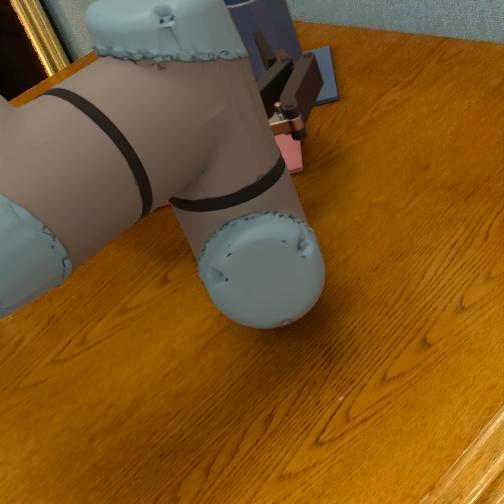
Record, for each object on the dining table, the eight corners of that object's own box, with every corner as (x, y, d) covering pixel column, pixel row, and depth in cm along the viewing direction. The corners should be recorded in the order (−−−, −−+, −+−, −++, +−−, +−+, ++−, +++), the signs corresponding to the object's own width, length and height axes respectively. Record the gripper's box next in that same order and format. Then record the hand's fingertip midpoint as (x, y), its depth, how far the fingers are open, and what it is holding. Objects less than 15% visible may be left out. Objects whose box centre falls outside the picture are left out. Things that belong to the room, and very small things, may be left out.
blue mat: (213, 131, 93) (211, 126, 93) (214, 77, 101) (213, 73, 101) (339, 99, 93) (337, 95, 93) (330, 49, 101) (329, 45, 101)
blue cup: (237, 114, 95) (198, 15, 88) (236, 81, 99) (200, -15, 93) (313, 95, 95) (280, -5, 88) (309, 63, 100) (278, -34, 93)
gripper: (82, 281, 73) (64, 159, 86) (404, 171, 76) (337, 70, 90) (27, 187, 67) (17, 73, 81) (377, 73, 70) (310, -19, 84)
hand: (185, 71), depth 85 cm, fingers open, 13 cm apart
